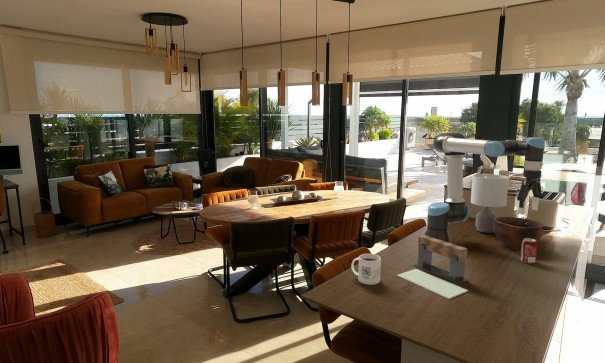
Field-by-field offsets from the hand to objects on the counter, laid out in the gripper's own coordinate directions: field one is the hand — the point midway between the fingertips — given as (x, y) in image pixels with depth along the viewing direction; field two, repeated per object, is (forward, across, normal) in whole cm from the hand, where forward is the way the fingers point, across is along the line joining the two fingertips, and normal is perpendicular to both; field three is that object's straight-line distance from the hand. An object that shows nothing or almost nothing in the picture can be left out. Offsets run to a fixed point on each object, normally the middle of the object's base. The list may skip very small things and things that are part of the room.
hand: (527, 212), depth 188 cm
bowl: (+28, +26, +16) cm, 41 cm away
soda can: (+28, +6, 0) cm, 28 cm away
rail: (+18, -44, +18) cm, 50 cm away
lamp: (+28, +39, +41) cm, 63 cm away
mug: (+28, -77, +32) cm, 88 cm away
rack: (+28, -44, +18) cm, 54 cm away
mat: (+27, -57, +13) cm, 64 cm away
